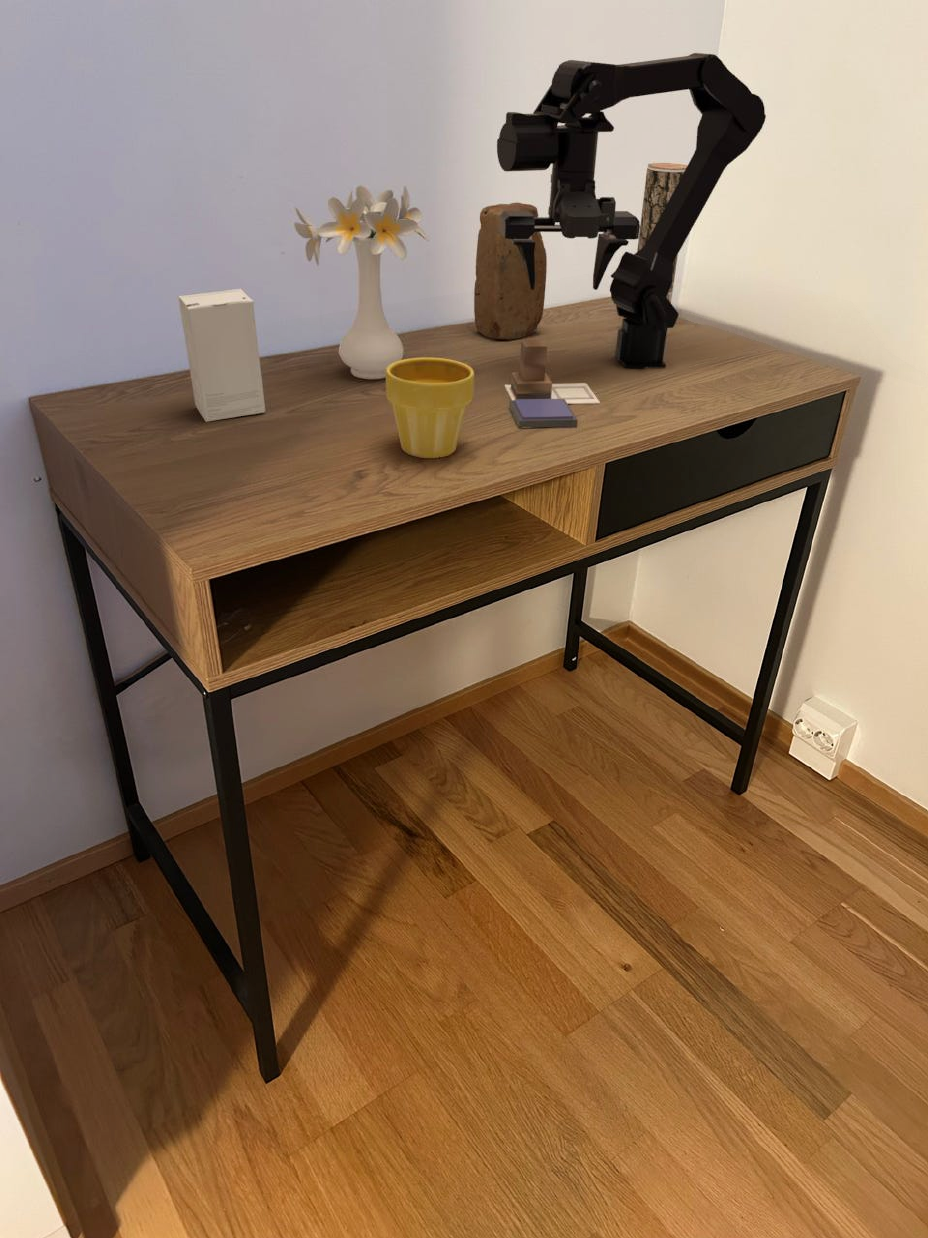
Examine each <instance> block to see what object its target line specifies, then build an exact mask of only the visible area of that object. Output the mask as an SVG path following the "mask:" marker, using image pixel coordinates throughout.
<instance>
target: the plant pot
mask: <svg viewBox="0 0 928 1238" xmlns="http://www.w3.org/2000/svg"><path fill="white" fill-rule="evenodd" d="M474 388H475V371H474V369H473V368H472V367H471V366H470V365H467V364H466V363H464V362H461V361H458V360H454V359H448V358H442V357H412V358H404V359H401V360H400V361H397V362H394V363H392V364H390V365H389V366H388V367H387V369H386V378H385V395H386V398H387V400H388V401H389V403H391V405H392V408H393V409H392V410H393V413H394V418H395V422H396V427H397V432H398V437H399V441H400V445H401V448H402V451H404V452H405V453H406V454H408V455H410V456H413V457H416V458H421V459H440V458H444V457H447V456H450V455H452V454H453V453H455V451H456V450H457V445H458V442H459V437H460V433H461V429H462V425H463V421H464V418H465V413H466V409H467V406H468V405H469V404H470V403H472V401H473V398H474ZM439 457H440V458H439Z"/></svg>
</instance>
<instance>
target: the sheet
mask: <svg viewBox="0 0 928 1238" xmlns="http://www.w3.org/2000/svg"><path fill="white" fill-rule="evenodd" d="M504 388H505V390H506V393H507V394H508V396H509V398H510V400H516V397H515V395H514V393H513V391H512V389H511V384H504ZM551 399H565V401H566V402H567V404H573V405H600V404H601V402H600V400H599V399H598V398H597V396H596V395H595V393H594V392H593V391H592V390H591V388H590V387H589V384H587V383H582V382H581V383H579V382H578V383H552V392H551Z"/></svg>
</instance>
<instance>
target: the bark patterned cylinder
mask: <svg viewBox="0 0 928 1238" xmlns="http://www.w3.org/2000/svg"><path fill="white" fill-rule="evenodd" d="M687 166H688V164H682V163H672V162H671V163H670V162H653V163H648V164H647V169H646V174H645V182H644V183H645V185H644V192H643V201H642V208H641V209H642V210H641V217H640V230H639V238H638V243H637V250H636V251H637V252H638V251H639V250H640V249H642V248H643V247H644V245H645V244H646V242H647V240H648V238H649V236H650V235H651V233H652V231H653V229H654V227H655V225H656V223H657V222H658V220H659V218H660V216H661V214H662V212H663V210H664V209H665V207H666V205H667V203H668V201H669V199H670V197H671V196H672V194H673V192H674V190H675V188H676V186H677V184H678V183H679V181H680V179H681V177H682V175H683V173H684V171H685V170H686V168H687ZM637 252H636V253H637ZM678 256H679V254H678V255H677V257H676V258H675V261H674V263H673V276H672V285H671V288H670V290H669V293H668V295H667V299H668V300H669V301H670V303H671V304H672V299H673V293H674V292H673V291H674V283H675V276H676V269H677V264H678Z"/></svg>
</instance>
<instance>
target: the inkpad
mask: <svg viewBox="0 0 928 1238" xmlns="http://www.w3.org/2000/svg"><path fill="white" fill-rule="evenodd" d="M508 407H510V408H509V410H510V412H511V411H512V412H511V414H512V413H513V414H512V416H513V415H514V416H513V418H514V417H515V418H514V420H515V419H516V420H515V422H516V421H517V423H518V425H517V427H518V426H519V427H518V429H523V428H522V427H531V428H530V429H534V428H533V427H536V428H535V429H538V428H537V427H557V428H577V427H578V418H577V416H576V415H575V414H574V412H573V410H572V409H571V407H570V405H568V404H567V402H566V401H565V399H516V400H511V399H510V400H509V406H508ZM517 423H516V424H517Z"/></svg>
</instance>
